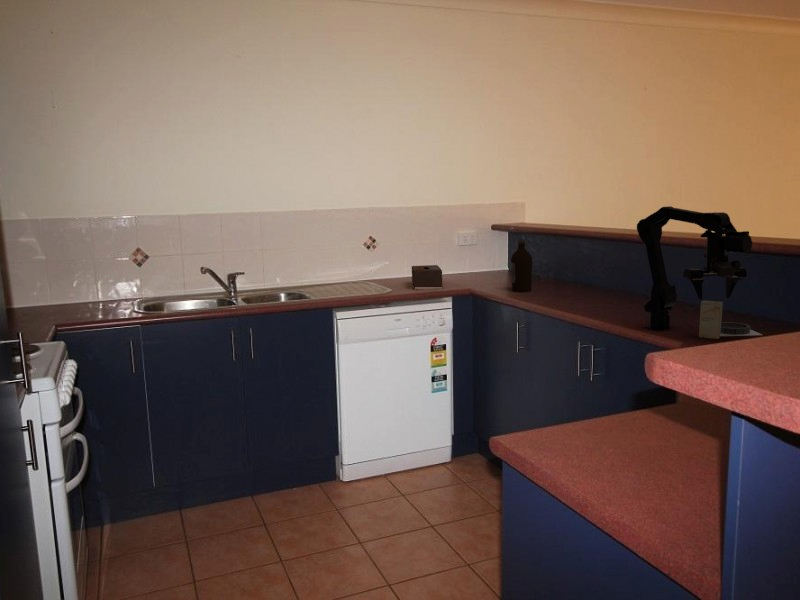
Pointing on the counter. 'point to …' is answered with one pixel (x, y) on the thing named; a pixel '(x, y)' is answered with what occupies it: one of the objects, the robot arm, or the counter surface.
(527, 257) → the olive oil
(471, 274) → the counter surface
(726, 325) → the dark grey ring
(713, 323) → the skincare box
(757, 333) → the grey base plate
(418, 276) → the tissue box cover
